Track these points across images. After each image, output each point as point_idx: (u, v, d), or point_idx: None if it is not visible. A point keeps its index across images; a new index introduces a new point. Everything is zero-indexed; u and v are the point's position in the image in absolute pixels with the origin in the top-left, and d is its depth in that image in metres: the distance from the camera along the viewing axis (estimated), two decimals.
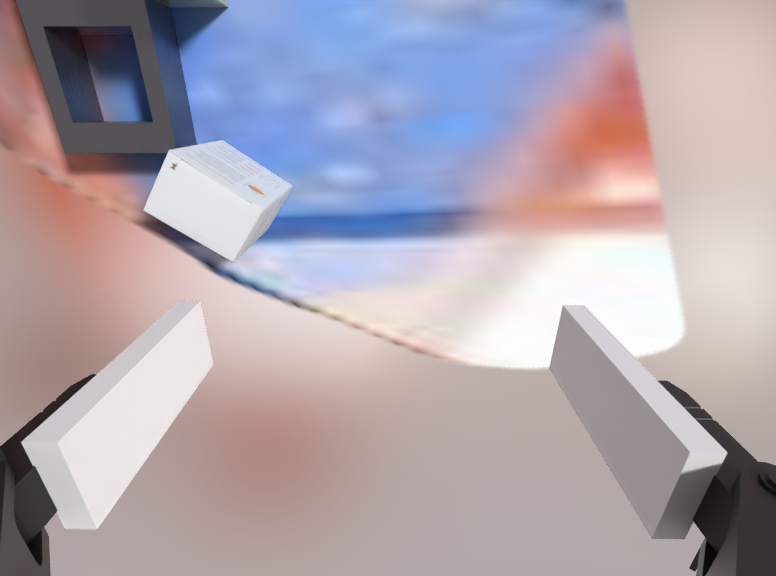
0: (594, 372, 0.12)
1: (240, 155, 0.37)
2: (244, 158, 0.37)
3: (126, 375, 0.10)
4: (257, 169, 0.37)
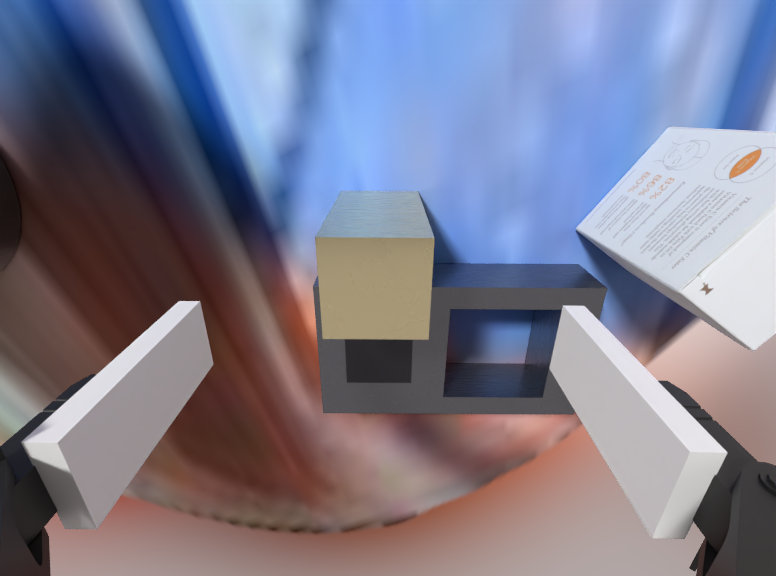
0: (594, 372, 0.12)
1: (611, 202, 0.24)
2: (617, 197, 0.24)
3: (126, 375, 0.10)
4: (644, 176, 0.23)
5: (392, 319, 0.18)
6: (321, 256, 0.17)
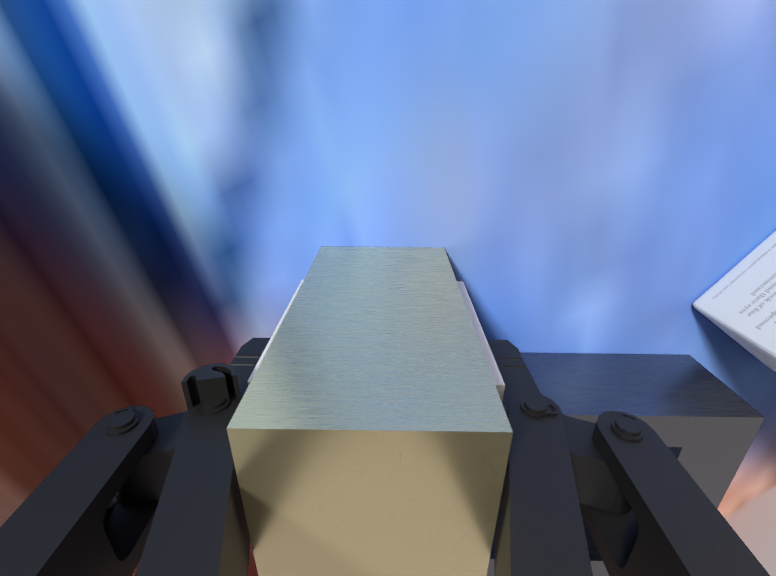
0: None
1: (767, 271, 0.15)
2: None
3: None
4: None
5: (407, 568, 0.08)
6: (245, 463, 0.07)
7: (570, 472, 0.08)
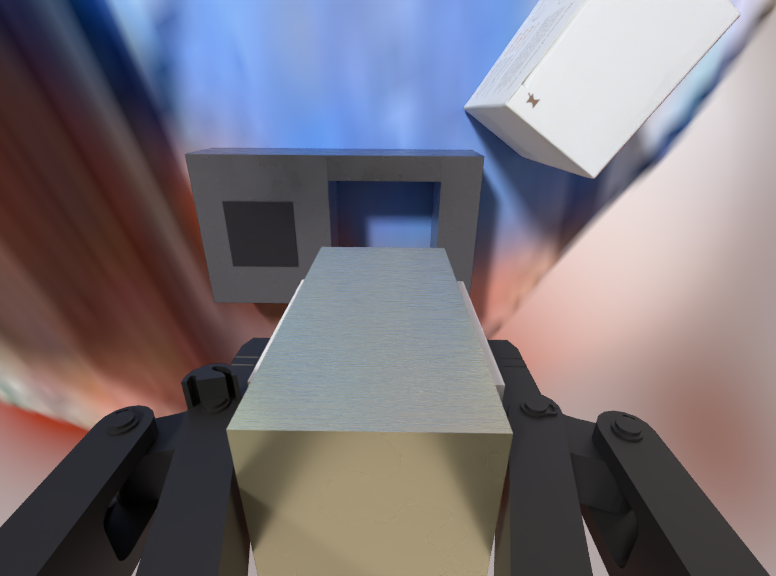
0: None
1: (491, 72, 0.24)
2: (496, 65, 0.24)
3: None
4: (517, 38, 0.23)
5: (407, 569, 0.08)
6: (245, 464, 0.07)
7: (570, 472, 0.08)
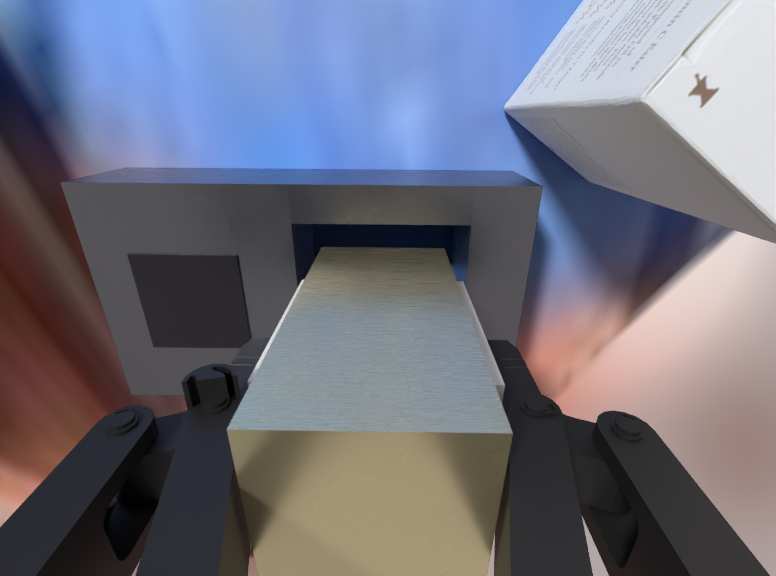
0: None
1: (551, 50, 0.15)
2: (561, 39, 0.15)
3: None
4: None
5: (408, 569, 0.08)
6: (245, 464, 0.07)
7: (570, 472, 0.08)
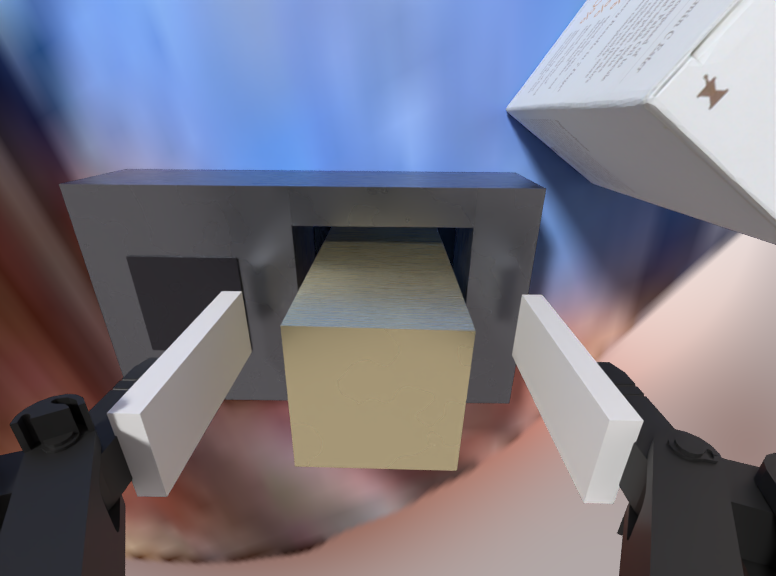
0: (544, 355, 0.12)
1: (555, 51, 0.15)
2: (564, 39, 0.15)
3: (188, 356, 0.11)
4: None
5: (402, 443, 0.12)
6: (291, 353, 0.10)
7: (732, 531, 0.07)
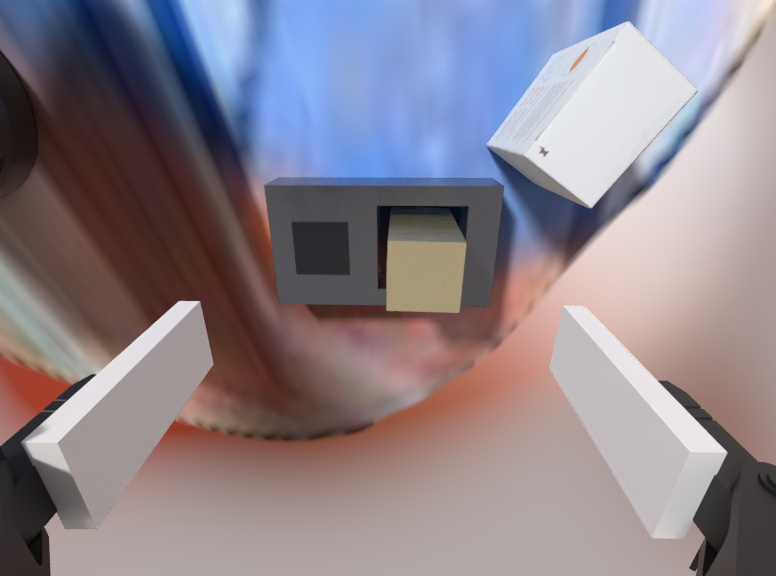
0: (594, 372, 0.12)
1: (509, 117, 0.30)
2: (513, 112, 0.29)
3: (126, 375, 0.10)
4: (531, 92, 0.28)
5: (435, 297, 0.26)
6: (390, 253, 0.25)
7: None
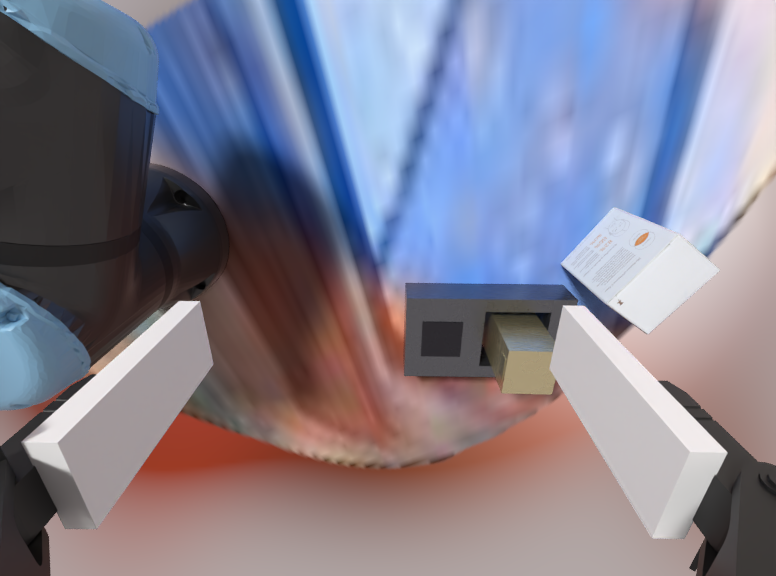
0: (594, 372, 0.12)
1: (580, 250, 0.42)
2: (584, 247, 0.41)
3: (126, 375, 0.10)
4: (598, 236, 0.40)
5: (536, 385, 0.38)
6: (509, 358, 0.37)
7: None
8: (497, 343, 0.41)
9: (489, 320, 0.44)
